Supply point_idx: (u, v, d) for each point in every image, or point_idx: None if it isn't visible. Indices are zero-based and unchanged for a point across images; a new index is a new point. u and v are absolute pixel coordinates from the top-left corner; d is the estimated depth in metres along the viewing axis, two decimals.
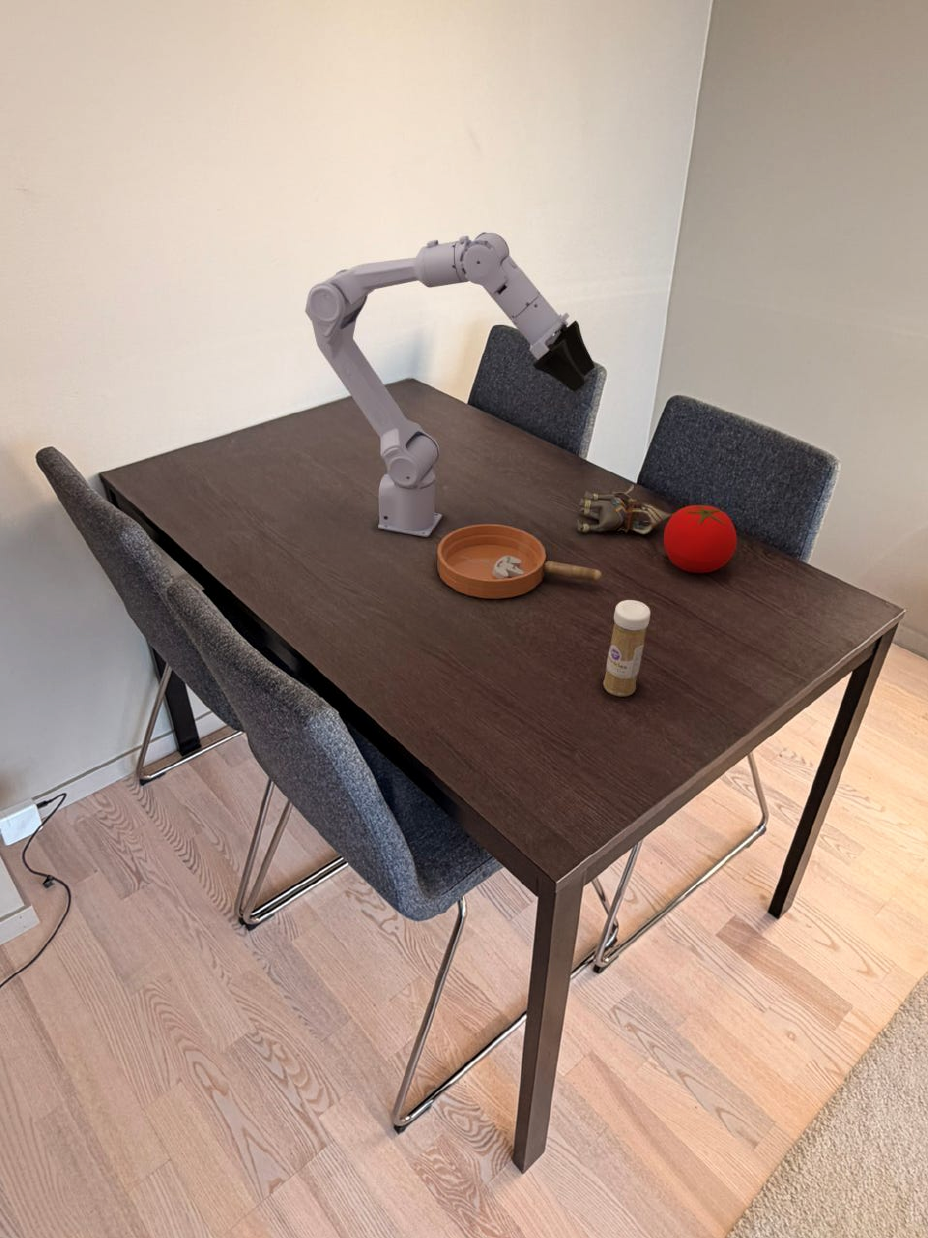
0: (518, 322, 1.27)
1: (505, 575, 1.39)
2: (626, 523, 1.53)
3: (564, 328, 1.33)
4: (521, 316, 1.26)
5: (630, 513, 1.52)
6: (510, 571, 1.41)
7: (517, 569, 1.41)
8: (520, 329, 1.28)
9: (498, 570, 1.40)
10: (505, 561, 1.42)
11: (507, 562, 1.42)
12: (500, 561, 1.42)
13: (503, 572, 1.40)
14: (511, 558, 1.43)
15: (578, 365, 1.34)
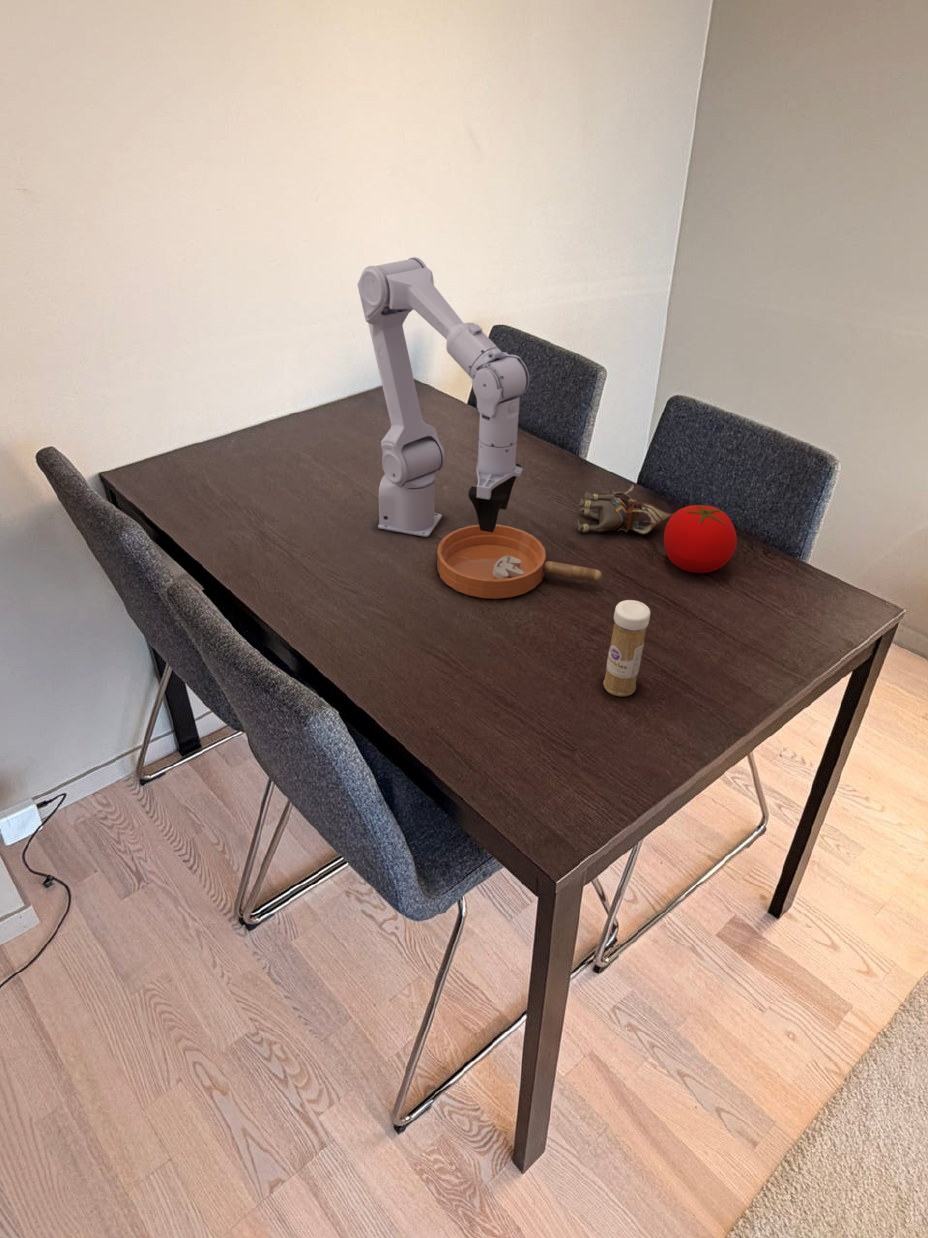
0: (483, 449, 1.29)
1: (505, 575, 1.39)
2: (626, 523, 1.53)
3: None
4: (490, 449, 1.29)
5: (630, 513, 1.52)
6: (510, 571, 1.41)
7: (517, 569, 1.41)
8: (480, 453, 1.30)
9: (498, 570, 1.40)
10: (505, 561, 1.42)
11: (507, 562, 1.42)
12: (500, 561, 1.42)
13: (503, 572, 1.40)
14: (511, 558, 1.43)
15: None
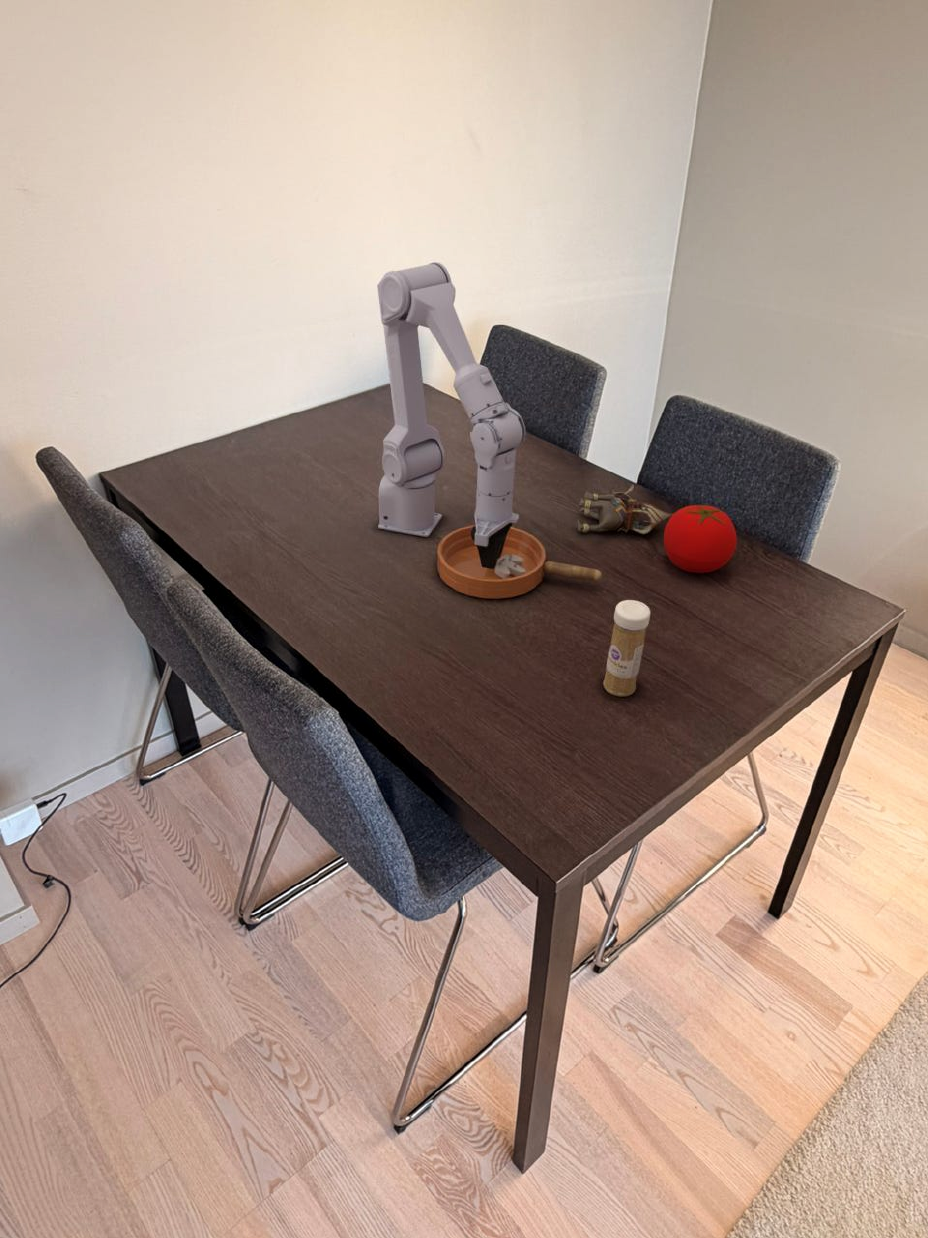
0: (481, 498, 1.34)
1: (506, 573, 1.40)
2: (626, 523, 1.53)
3: None
4: (487, 498, 1.33)
5: (630, 513, 1.52)
6: (512, 569, 1.41)
7: (519, 567, 1.42)
8: (478, 501, 1.35)
9: (500, 568, 1.41)
10: (507, 559, 1.43)
11: (509, 560, 1.43)
12: (502, 559, 1.43)
13: (505, 570, 1.40)
14: (513, 556, 1.44)
15: None
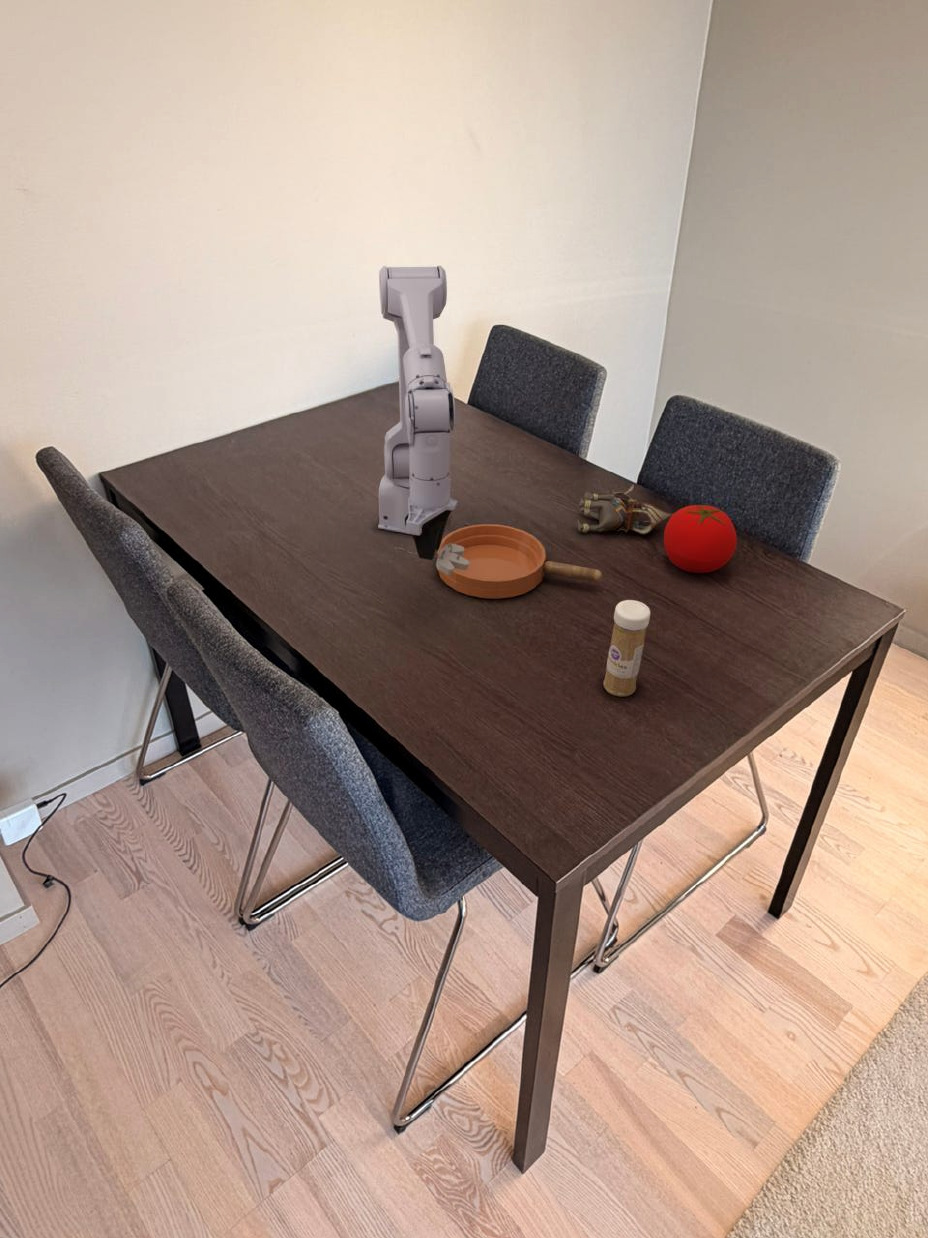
0: (414, 482, 1.22)
1: (450, 568, 1.29)
2: (626, 523, 1.53)
3: None
4: (420, 482, 1.22)
5: (630, 513, 1.52)
6: (455, 562, 1.30)
7: (462, 559, 1.31)
8: (411, 486, 1.24)
9: (442, 563, 1.29)
10: (448, 551, 1.31)
11: (450, 552, 1.31)
12: (443, 551, 1.31)
13: (448, 565, 1.29)
14: (453, 546, 1.32)
15: None
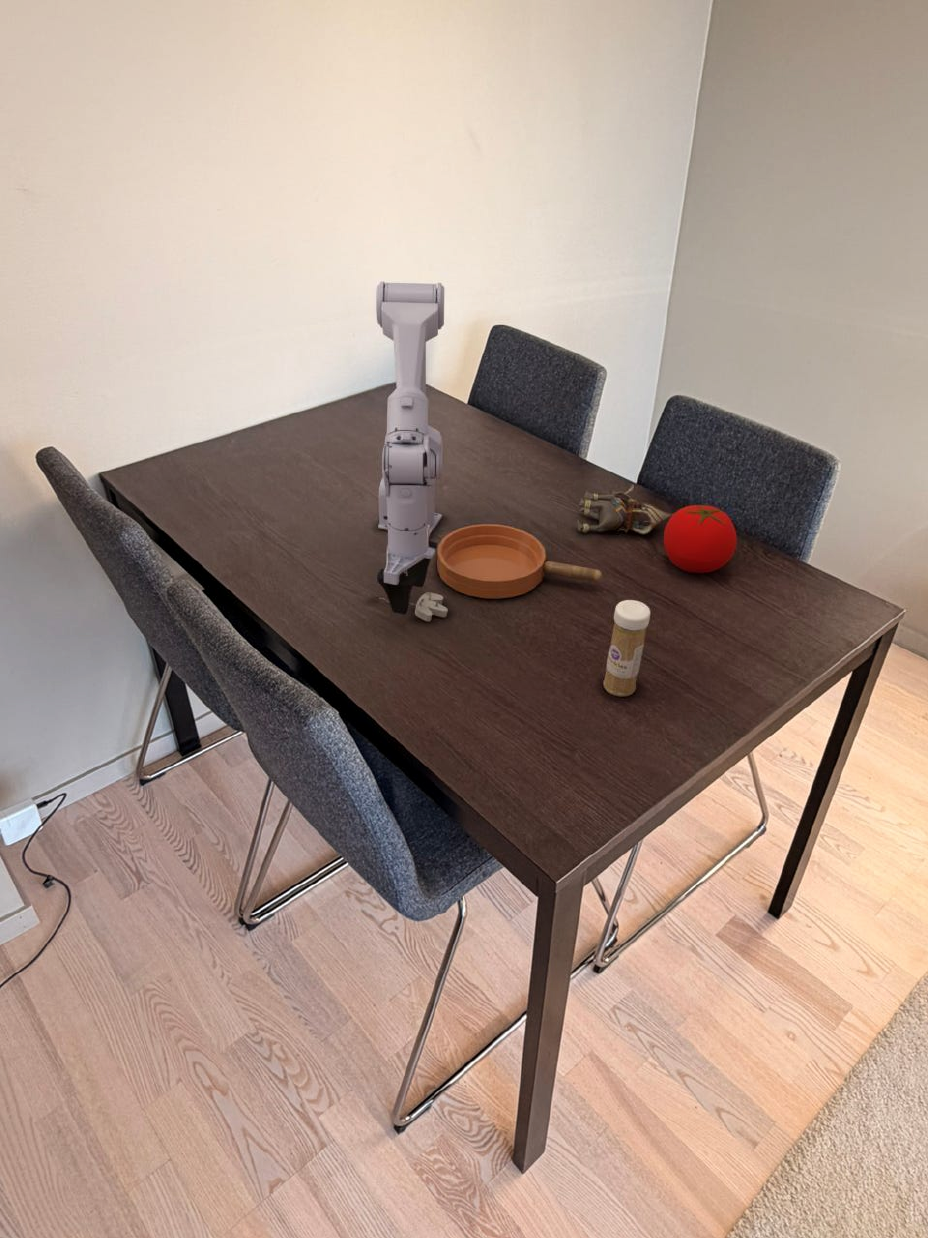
0: (392, 532, 1.24)
1: (429, 614, 1.31)
2: (626, 523, 1.53)
3: None
4: (398, 532, 1.23)
5: (630, 513, 1.52)
6: (433, 609, 1.32)
7: (440, 606, 1.33)
8: (389, 535, 1.25)
9: (421, 610, 1.31)
10: (427, 599, 1.33)
11: (429, 600, 1.33)
12: (422, 599, 1.33)
13: (427, 612, 1.31)
14: (432, 595, 1.35)
15: (412, 575, 1.35)
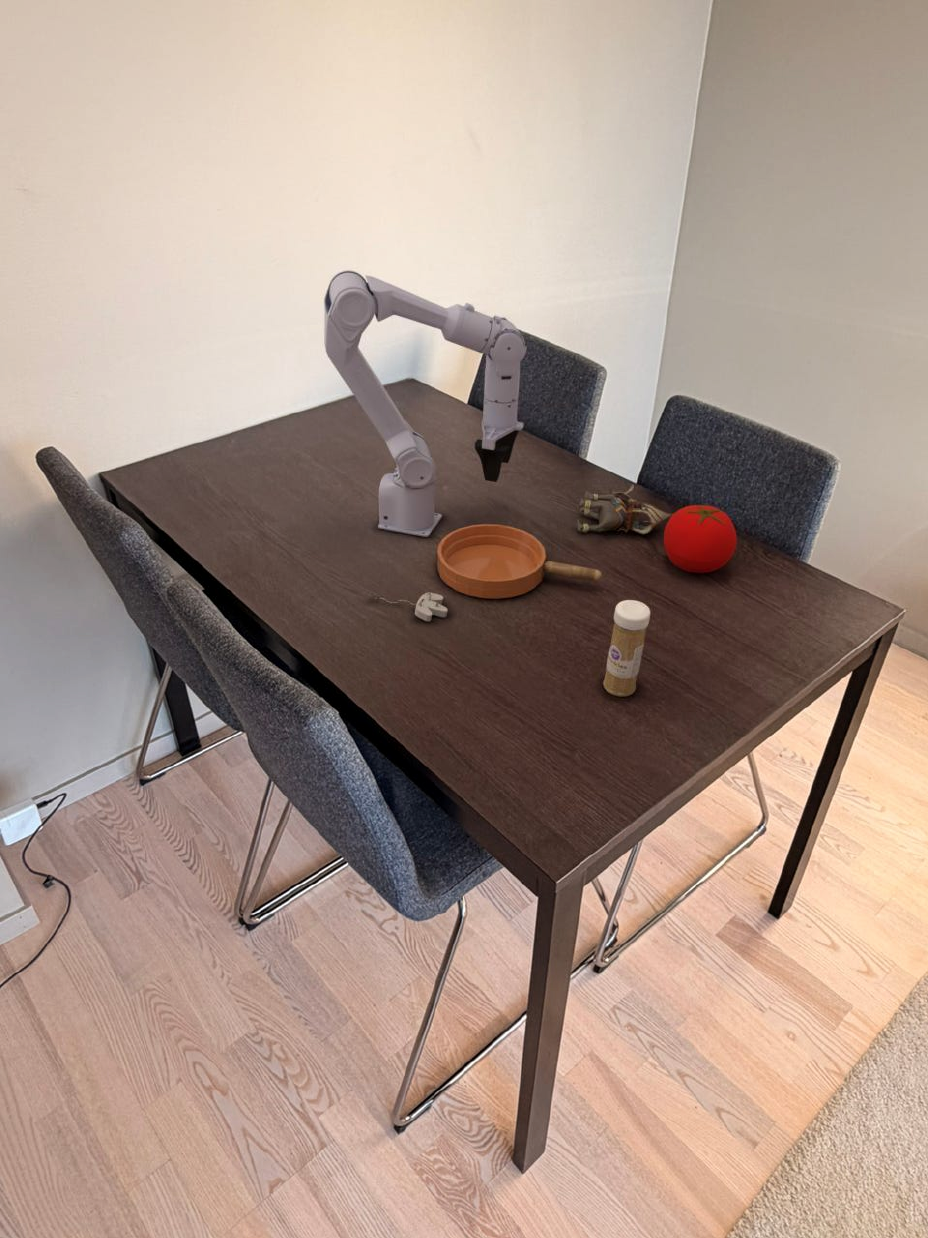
0: (488, 405, 1.43)
1: (429, 614, 1.31)
2: (626, 523, 1.53)
3: None
4: (494, 404, 1.43)
5: (630, 513, 1.52)
6: (433, 609, 1.32)
7: (440, 606, 1.33)
8: (485, 409, 1.45)
9: (421, 610, 1.31)
10: (426, 599, 1.33)
11: (429, 600, 1.33)
12: (422, 599, 1.33)
13: (427, 612, 1.31)
14: (432, 595, 1.35)
15: None
